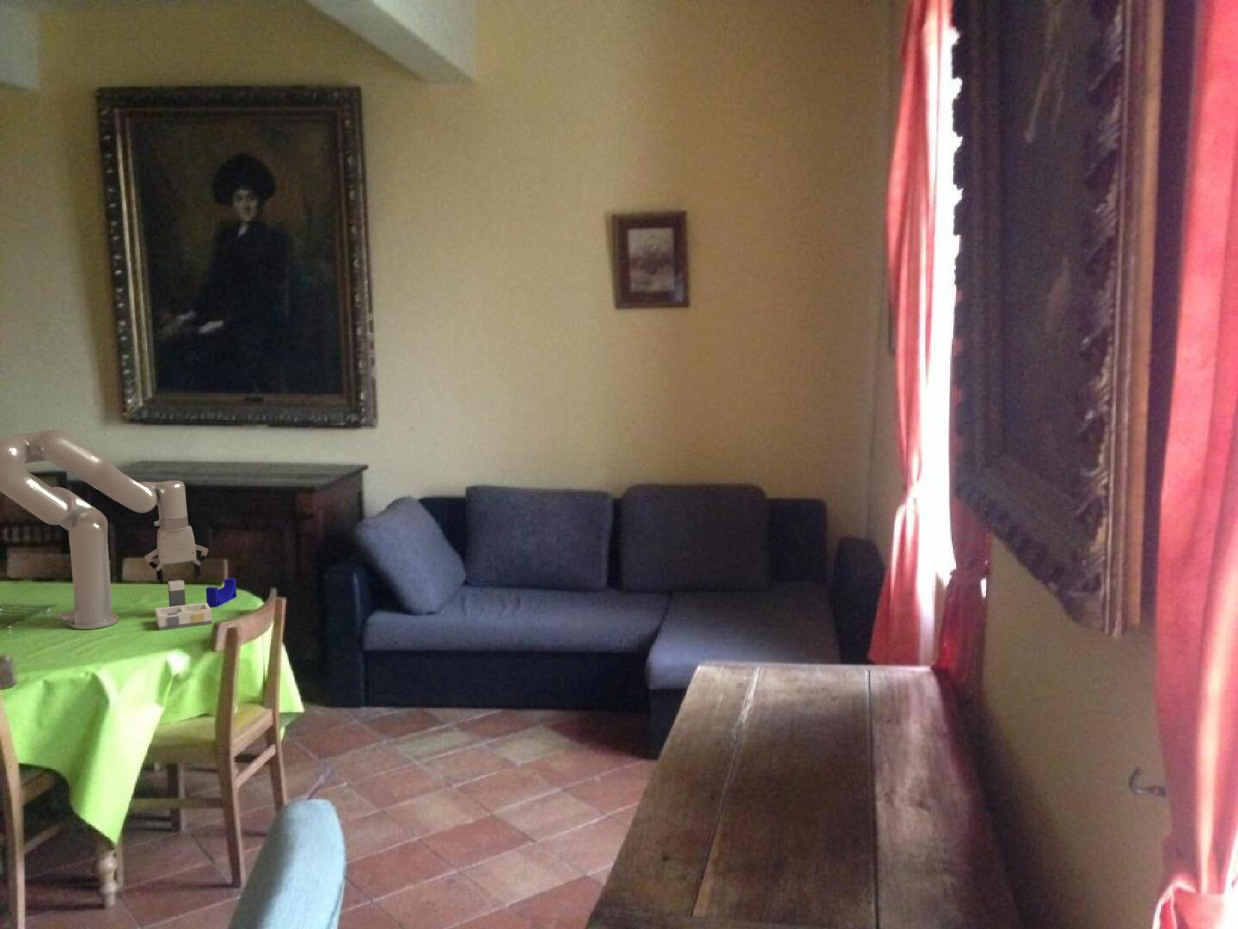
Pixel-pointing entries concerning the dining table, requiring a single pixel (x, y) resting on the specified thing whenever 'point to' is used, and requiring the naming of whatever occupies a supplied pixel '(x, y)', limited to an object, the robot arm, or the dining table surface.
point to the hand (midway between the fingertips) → (179, 580)
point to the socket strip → (183, 616)
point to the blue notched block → (221, 593)
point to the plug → (176, 593)
